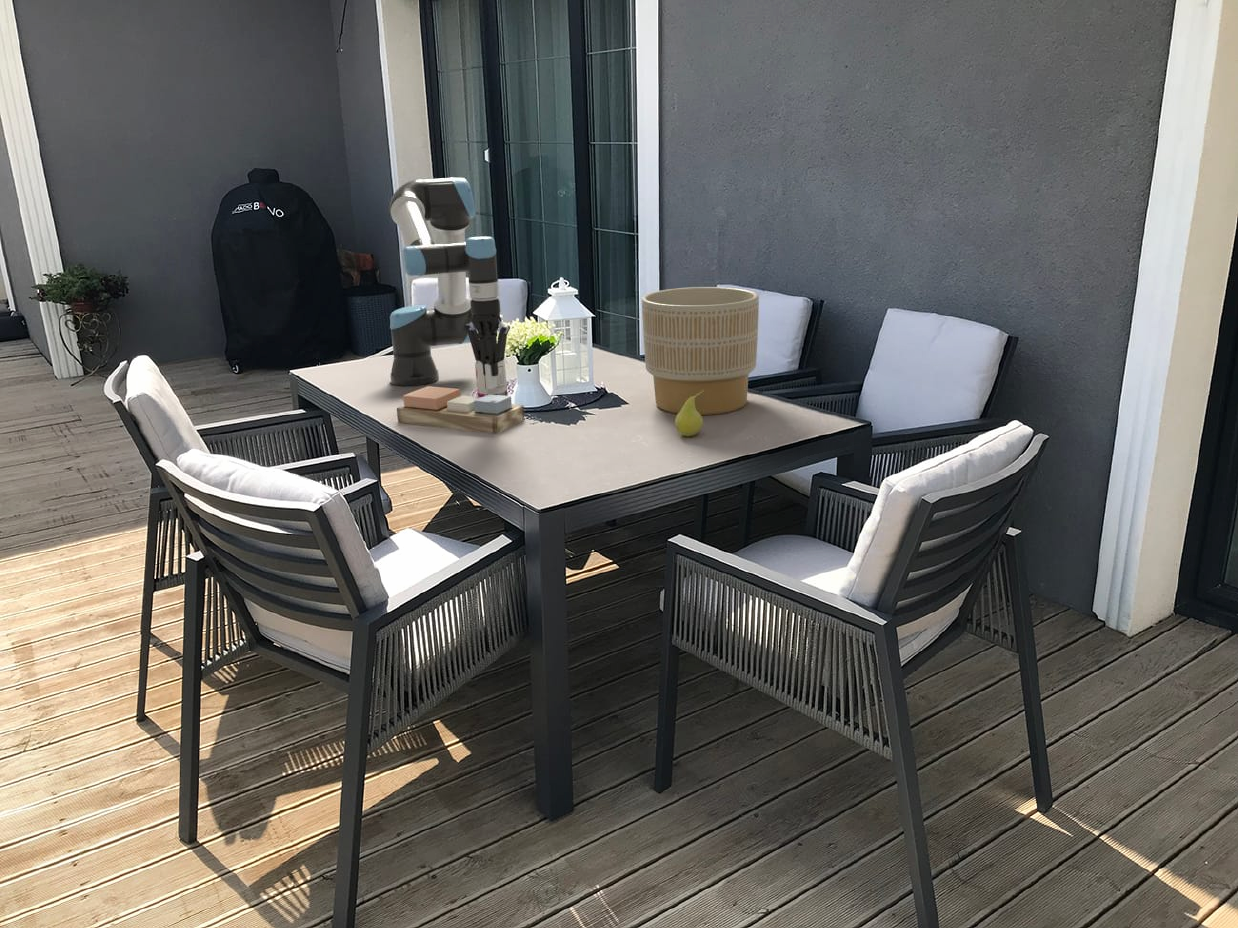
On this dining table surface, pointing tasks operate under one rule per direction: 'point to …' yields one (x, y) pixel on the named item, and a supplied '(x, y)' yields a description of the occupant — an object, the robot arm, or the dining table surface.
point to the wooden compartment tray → (462, 419)
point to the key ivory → (462, 404)
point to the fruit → (689, 418)
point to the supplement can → (481, 380)
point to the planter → (701, 346)
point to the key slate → (493, 404)
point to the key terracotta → (430, 398)
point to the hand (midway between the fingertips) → (491, 387)
